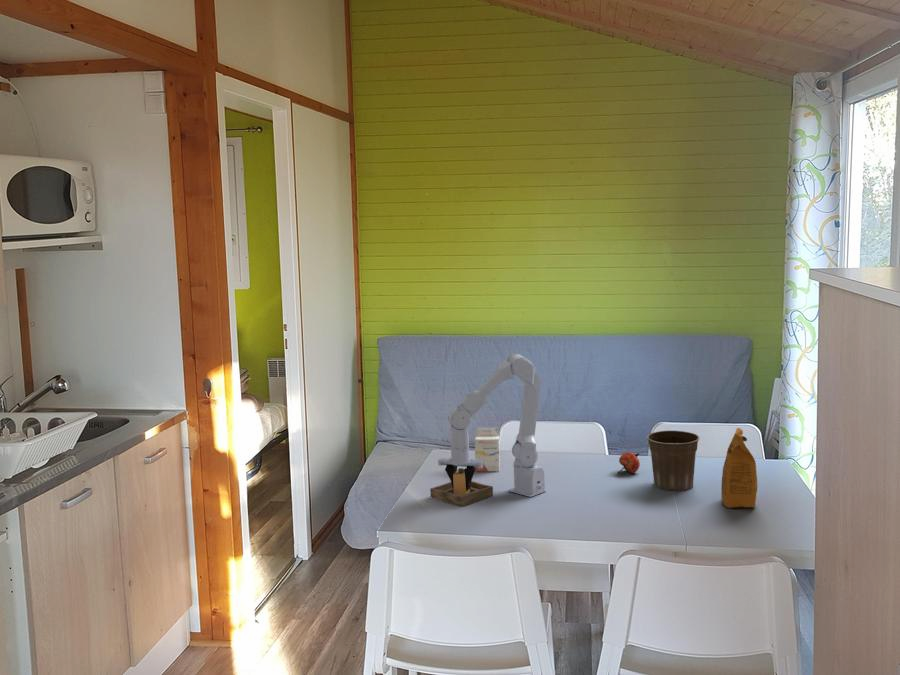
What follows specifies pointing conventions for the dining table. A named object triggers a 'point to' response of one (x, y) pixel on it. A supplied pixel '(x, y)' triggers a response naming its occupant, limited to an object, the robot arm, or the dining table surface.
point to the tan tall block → (460, 482)
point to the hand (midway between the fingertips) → (461, 488)
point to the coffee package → (739, 474)
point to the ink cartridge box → (487, 449)
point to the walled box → (476, 494)
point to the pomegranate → (629, 462)
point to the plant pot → (673, 459)
